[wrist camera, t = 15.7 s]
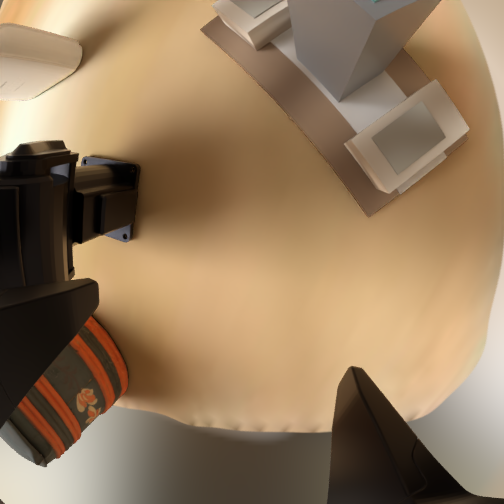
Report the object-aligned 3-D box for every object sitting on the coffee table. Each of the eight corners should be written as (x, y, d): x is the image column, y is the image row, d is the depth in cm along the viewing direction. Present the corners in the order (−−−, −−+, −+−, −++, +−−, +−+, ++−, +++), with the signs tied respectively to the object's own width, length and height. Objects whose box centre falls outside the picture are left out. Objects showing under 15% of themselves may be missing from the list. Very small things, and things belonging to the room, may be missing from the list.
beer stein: (51, 367, 33) (-22, 437, 14) (20, 285, 29) (-79, 348, 10) (143, 406, 29) (65, 520, 11) (111, 308, 25) (-32, 435, 6)
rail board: (463, 139, 14) (493, 136, 10) (366, 215, 18) (380, 228, 14) (302, -30, 12) (298, -60, 8) (203, 33, 16) (181, 10, 12)
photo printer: (27, 105, 20) (-57, 108, 9) (30, 74, 19) (-50, 69, 7) (82, 72, 18) (-23, 54, 7) (86, 37, 17) (-8, 10, 5)
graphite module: (338, 102, 15) (376, 19, 5) (296, 58, 14) (275, -53, 4) (382, 72, 14) (453, -14, 3) (341, 30, 13) (361, -81, 3)
